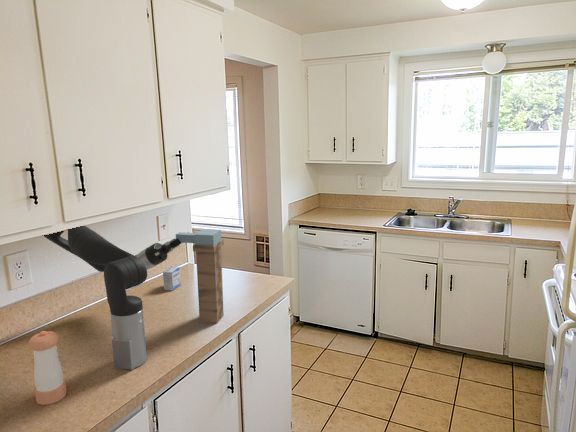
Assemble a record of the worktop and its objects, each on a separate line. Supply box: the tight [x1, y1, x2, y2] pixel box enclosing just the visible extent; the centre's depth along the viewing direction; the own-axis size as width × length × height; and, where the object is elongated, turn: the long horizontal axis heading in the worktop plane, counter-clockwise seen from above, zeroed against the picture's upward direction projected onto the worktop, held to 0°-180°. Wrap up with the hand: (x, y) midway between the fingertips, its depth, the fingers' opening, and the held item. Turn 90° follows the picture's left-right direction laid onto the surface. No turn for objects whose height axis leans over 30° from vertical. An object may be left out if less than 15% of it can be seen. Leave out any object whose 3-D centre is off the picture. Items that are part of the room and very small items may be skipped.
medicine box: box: [162, 266, 182, 292], centre depth 192 cm, size 8×4×9 cm, turn 168°
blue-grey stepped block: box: [175, 228, 222, 246], centre depth 155 cm, size 8×16×4 cm, turn 79°
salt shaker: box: [28, 330, 67, 406], centre depth 113 cm, size 7×7×19 cm
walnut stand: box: [192, 239, 225, 324], centre depth 158 cm, size 10×8×30 cm
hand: (185, 237), depth 156 cm, fingers open, 8 cm apart
